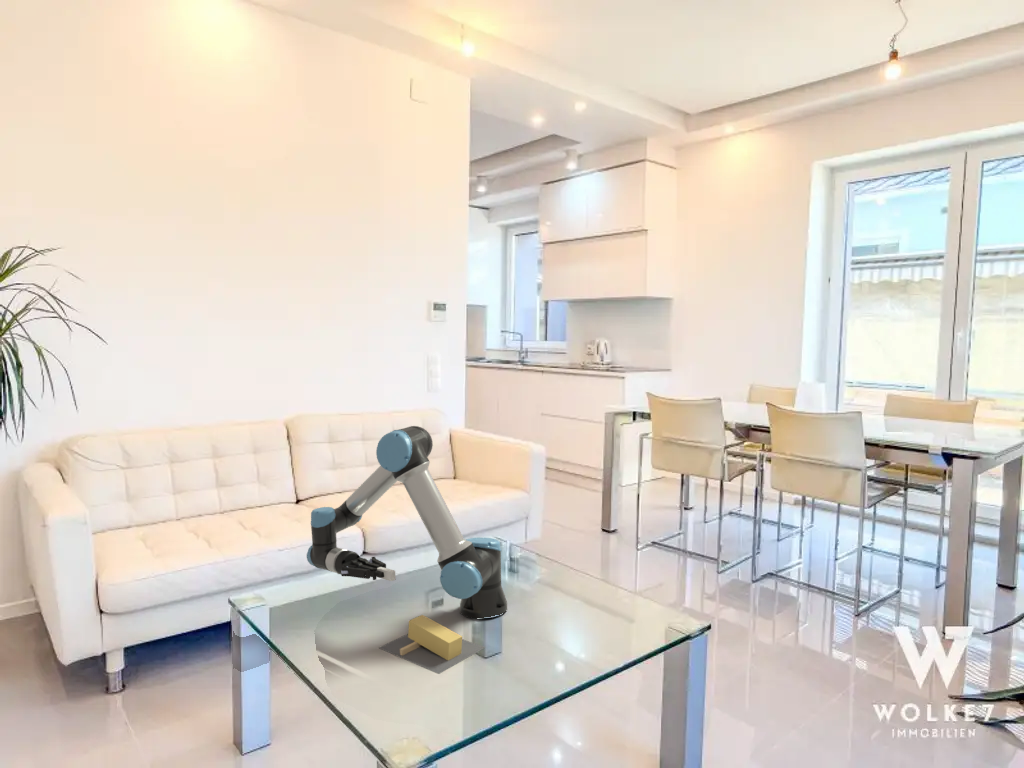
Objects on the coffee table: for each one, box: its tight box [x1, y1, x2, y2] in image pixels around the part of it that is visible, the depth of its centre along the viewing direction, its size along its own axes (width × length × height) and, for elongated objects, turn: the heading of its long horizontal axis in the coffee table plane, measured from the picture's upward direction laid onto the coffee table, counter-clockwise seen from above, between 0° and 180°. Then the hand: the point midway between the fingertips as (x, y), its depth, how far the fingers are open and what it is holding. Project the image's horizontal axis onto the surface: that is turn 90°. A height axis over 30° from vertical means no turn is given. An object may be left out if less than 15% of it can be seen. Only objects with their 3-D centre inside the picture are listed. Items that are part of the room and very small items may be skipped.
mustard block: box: [407, 614, 463, 660], centre depth 180 cm, size 5×5×16 cm
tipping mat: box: [378, 633, 486, 674], centre depth 181 cm, size 24×18×2 cm
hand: (393, 575), depth 189 cm, fingers closed
